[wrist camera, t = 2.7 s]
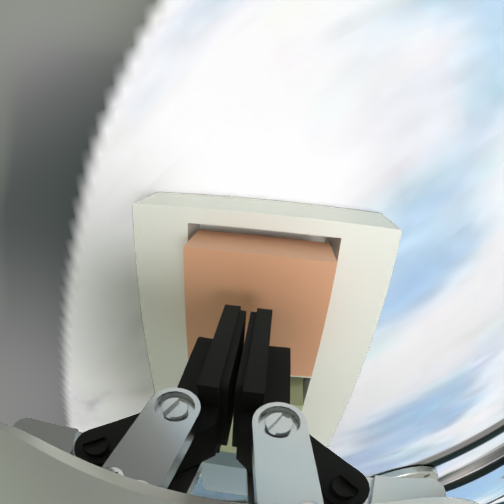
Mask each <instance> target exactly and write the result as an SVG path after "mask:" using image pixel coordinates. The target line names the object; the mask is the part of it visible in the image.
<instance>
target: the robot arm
mask: <svg viewBox="0 0 504 504" xmlns="http://www.w3.org/2000/svg"><path fill="white" fill-rule="evenodd" d="M272 311H273V310H271V309H262V308H257V312H252V311H251V313H250V318H249V323H248V328H247V333H246V338H245V324H246V311H243V310H241V306H235V305H227V304H225V306H224V309H223V312H222V315H221V318H220V320H219V323H218V326H217V329H216V332H215V335H214V337H213V339H212V338H205V337H198V339H197V341H196V343H195V346H194V348H193V350H192V353H191V355H190V358H189V360H188V362H187V365H186V367H185V370H184V372H183V374H182V377H181V379H180V382H179V384H178V386H177V388H167V389H163V390H161V391H159V392H157V393H156V394H155V395H154V396H153V397H152V398H151V399H150V400H149V402H148V403H147V405H146V406H145V407H144V409H143V410H142V412H141V413H139V414H136V415H133V416H130V417H127V418H124V419H121V420H119V421H116V422H113V423H109V424H106V425H103V426H100V427H97V428H94V429H90V430H88V431H86V432H84V433H81V432H79V431H78V429H75V428H70V427H65V426H60V425H56V424H51V423H47V422H43V421H39V420H36V419H32V418H23V419H20V420H19V421H17V422H16V423H15V424H14V426H11V425H8V424H5V423H2V422H0V504H245V503H237V502H229V501H223V500H216V499H211V498H205V497H200V496H195V495H191V493H192V491H193V489H194V487H195V485H196V483H197V480H198V478H199V476H200V474H201V472H202V470H203V468H204V465H205V461H206V460H208V459H210V458H211V457H213V456H215V455H216V453H219V452H220V447H221V445H224V446H227V444H228V439H229V434H230V429H231V424H232V419H233V434H232V447H237V451H236V459H237V460H238V461H239V462H240V463H241V464H242V465H243V466H244V467H245V468H246V493H247V504H478V503H477V502H474V501H470V500H467V499H461V498H455V497H446V492H445V488H444V487H443V485H442V484H441V483H440V482H438V481H437V480H438V474H437V471H436V469H435V468H433V467H429V466H416V467H409V468H404V469H399V470H395V471H391V472H388V473H385V474H382V475H379V476H378V475H375V476H374V477H373V478H371V477H365V476H364V475H363V474H362V473H361V472H360V471H358V470H357V469H355V468H354V467H352V466H351V465H350V464H348V463H347V462H345V461H344V460H343V459H341V458H340V457H339V456H337V455H336V454H335V453H333V452H332V451H331V450H329V449H328V448H327V447H325V446H324V445H323V444H321V443H320V442H319V441H318V440H316V439H315V438H314V437H312V436H311V435H310V434H309V431H308V427H307V422H306V419H305V416H304V414H303V413H302V412H301V411H300V410H299V409H298V408H296V407H295V406H293V405H290V374H291V349H290V348H288V347H277V346H269V344H270V333H271V322H272ZM244 338H245V342H244Z"/></svg>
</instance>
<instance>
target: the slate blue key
mask: <svg viewBox="0 0 504 504" xmlns="http://www.w3.org/2000/svg"><path fill="white" fill-rule="evenodd" d="M201 477H202V484H203V489H204V490H209V491H215V492H221V493H227V494H234V495H242V496H247V493H246V468H245V467H244V466H243V465H242V464H241V463H240V462H239V461H238V460H237V459H236V453H230V452H223V451H220V452H219V453H216V455H215V456H213V457H211V458H210V459H208V460H206V461H205V465H204V468H203V470H202V472H201Z"/></svg>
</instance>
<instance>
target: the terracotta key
mask: <svg viewBox="0 0 504 504" xmlns="http://www.w3.org/2000/svg"><path fill="white" fill-rule="evenodd" d="M183 250H184V291H185V315H186V333H187V349H188V360H189V358H190V355H191V353H192V350H193V348H194V346H195V343H196V341H197V339H198V337H205V338H212V339H213V337H214V335H215V332H216V329H217V326H218V323H219V320H220V318H221V315H222V312H223V309H224V306H225V304H227V305H235V306H241V310H243V311H246V324H245V338H246V333H247V328H248V323H249V318H250V313H251V311H252V312H257V308H262V309H271V310H273V311H272V322H271V333H270V344H269V346H277V347H288V348H290V349H291V374H290V375H293V376H306V377H311V376H312V373H313V369H314V365H315V361H316V357H317V354H318V350H319V346H320V341H321V337H322V333H323V329H324V325H325V320H326V316H327V311H328V307H329V302H330V297H331V292H332V288H333V283H334V278H335V272H336V267H337V260H336V258H335V255H334V253H333V250H332V247H331V245H330V243H325V242H316V241H306V240H297V239H287V238H278V237H268V236H258V235H248V234H238V233H228V232H217V231H206V230H198V231H197V232H196V233H195V235H194V236H193V237H192V238H191V239H190V240H189V241H188V242H187V243H186V244H185V245H184V246H183ZM245 338H244V342H245Z"/></svg>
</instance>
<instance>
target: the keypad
mask: <svg viewBox="0 0 504 504" xmlns="http://www.w3.org/2000/svg"><path fill="white" fill-rule="evenodd" d="M133 226H134V243H135V257H136V269H137V279H138V289H139V298H140V306H141V314H142V321H143V328H144V335H145V341H146V347H147V353H148V359H149V365H150V370H151V375H152V380H153V385H154V390H155V394H156V393H157V392H159V391H161V390H163V389H167V388H177V386H178V384H179V382H180V379H181V377H182V374H183V372H184V370H185V367H186V365H187V362H188V349H187V333H186V315H185V291H184V250H183V246H184V245H185V244H186V243H187V242H188V241H189V240H190V239H191V238H192V237H193V236H194V235H195V233H196V232H197V231H198V230H206V231H217V232H228V233H238V234H248V235H258V236H268V237H278V238H287V239H297V240H306V241H316V242H325V243H330V245H331V247H332V250H333V253H334V255H335V258H336V260H337V267H336V272H335V278H334V283H333V288H332V292H331V297H330V302H329V307H328V311H327V316H326V320H325V325H324V329H323V333H322V337H321V341H320V346H319V350H318V354H317V357H316V361H315V365H314V369H313V373H312V376H311V377H306V376H293V375H290V377H302V378H303V408H302V413H303V414H304V416H305V419H306V422H307V427H308V431H309V434H310V435H311V436H312V437H314V438H315V439H316V440H318V441H319V442H320V443H321V444H323V445H324V446H325V447H328V445H329V443H330V441H331V439H332V437H333V435H334V433H335V431H336V429H337V426H338V424H339V422H340V420H341V418H342V415H343V413H344V411H345V409H346V406H347V404H348V402H349V399H350V397H351V395H352V392H353V390H354V387H355V385H356V382H357V380H358V377H359V375H360V372H361V369H362V367H363V364H364V361H365V359H366V356H367V353H368V350H369V348H370V345H371V342H372V339H373V336H374V333H375V330H376V327H377V324H378V320H379V317H380V314H381V311H382V307H383V304H384V301H385V297H386V294H387V290H388V286H389V283H390V279H391V275H392V271H393V267H394V263H395V259H396V255H397V251H398V246H399V242H400V237H401V232H402V230H401V229H400V228H399V227H398V226H397V225H395V224H394V223H393V222H392V221H391V220H390V219H388V218H387V217H386V216H385V215H383V214H382V213H375V212H368V211H361V210H353V209H346V208H338V207H330V206H321V205H313V204H304V203H295V202H285V201H275V200H265V199H254V198H243V197H230V196H217V195H203V194H187V193H169V192H157V193H155V194H152V195H150V196H148V197H146V198H144V199H142V200H139V201H137V202H135V203H133ZM200 477H201V474H200Z"/></svg>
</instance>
